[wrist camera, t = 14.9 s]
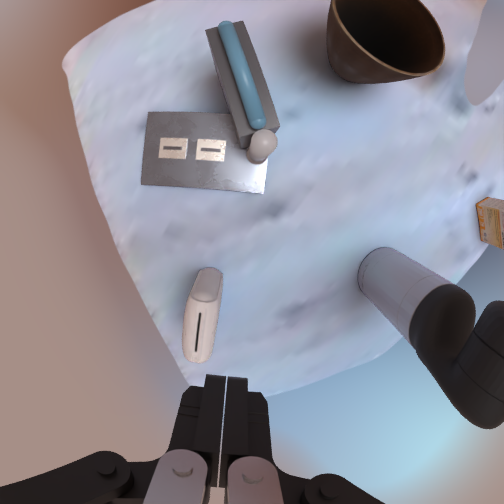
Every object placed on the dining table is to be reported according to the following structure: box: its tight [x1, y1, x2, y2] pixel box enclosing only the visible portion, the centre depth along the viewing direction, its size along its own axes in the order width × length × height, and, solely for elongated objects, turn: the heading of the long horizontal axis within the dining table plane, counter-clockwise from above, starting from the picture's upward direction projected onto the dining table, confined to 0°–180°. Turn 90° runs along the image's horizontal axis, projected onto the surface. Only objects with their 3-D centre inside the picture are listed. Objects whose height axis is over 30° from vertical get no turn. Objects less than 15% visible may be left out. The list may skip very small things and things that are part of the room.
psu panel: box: [141, 112, 268, 194], centre depth 38 cm, size 18×11×2 cm, turn 84°
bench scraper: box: [205, 21, 280, 162], centre depth 29 cm, size 15×4×14 cm, turn 16°
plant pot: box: [326, 0, 445, 84], centre depth 28 cm, size 15×15×16 cm
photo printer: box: [182, 268, 223, 363], centre depth 39 cm, size 10×4×12 cm, turn 170°
